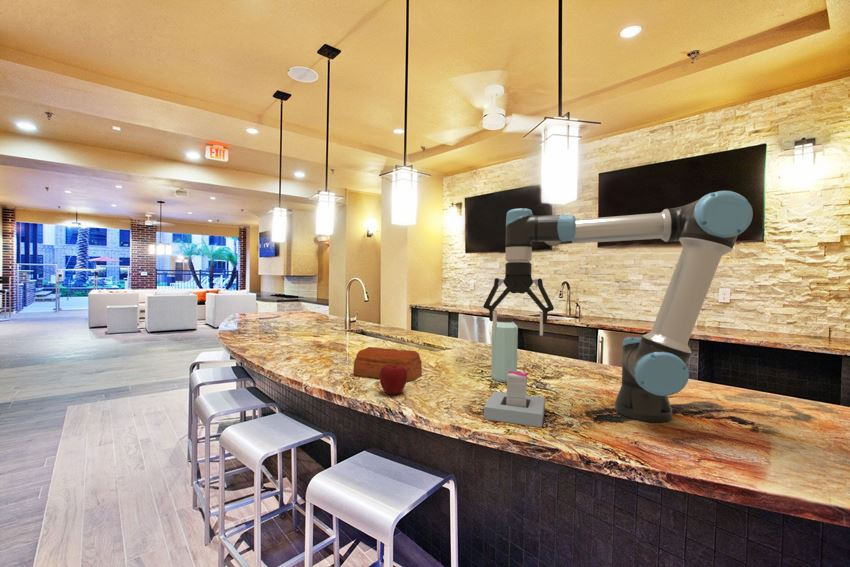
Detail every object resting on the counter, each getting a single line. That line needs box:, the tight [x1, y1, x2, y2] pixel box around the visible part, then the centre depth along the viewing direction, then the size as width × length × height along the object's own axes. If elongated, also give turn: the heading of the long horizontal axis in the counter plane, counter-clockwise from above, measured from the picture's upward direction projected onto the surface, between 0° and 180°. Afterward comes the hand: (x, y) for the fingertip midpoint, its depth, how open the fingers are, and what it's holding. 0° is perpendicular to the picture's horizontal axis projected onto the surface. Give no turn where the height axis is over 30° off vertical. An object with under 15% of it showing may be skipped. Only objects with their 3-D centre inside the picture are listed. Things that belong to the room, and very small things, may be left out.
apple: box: [379, 364, 407, 396], centre depth 133 cm, size 10×10×10 cm
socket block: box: [483, 391, 546, 428], centre depth 115 cm, size 16×16×4 cm
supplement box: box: [506, 371, 528, 408], centre depth 115 cm, size 6×6×12 cm
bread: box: [352, 346, 423, 383], centre depth 158 cm, size 16×27×11 cm, turn 69°
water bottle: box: [490, 315, 519, 383], centre depth 153 cm, size 10×10×25 cm
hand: (517, 333), depth 115 cm, fingers open, 13 cm apart
